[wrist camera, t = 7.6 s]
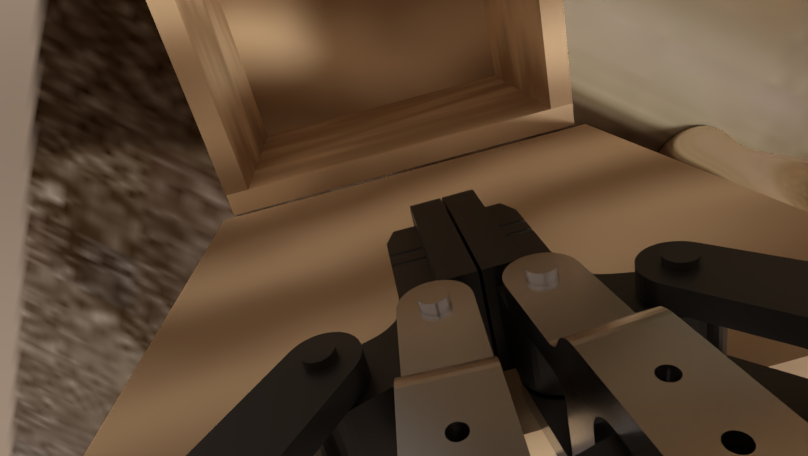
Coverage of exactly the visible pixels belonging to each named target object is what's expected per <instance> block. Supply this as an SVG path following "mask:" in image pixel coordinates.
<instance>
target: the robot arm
mask: <svg viewBox="0 0 808 456" xmlns="http://www.w3.org/2000/svg"><path fill="white" fill-rule="evenodd" d="M410 211H411V215H412V219H413V223H414V226H413V227H409V228H406V229H402V230H398V231H394V232H393V233H392V235H391V237H390V239H389V241H388V242H387V248H388V253H389V257H390V262H391V266H392V271H393V275H394V280H395V284H396V288H397V293H398V297H399V302H398V304H397V307H396V317H397V318H396V320H395V322H394V323H393V324H392V325H391V326H390V327H389V328H388V329H387V330H385V331H384V332H383V333H381V334H380V335H378V336H376V337H374V338H373V339H371V340H369V341H367V342H365V343H363V344H361V343H360V341H359V340H358V339H357V338H356V337H355V336H353V335H351V334H349V333H345V332H329V333H323V334H319V335H317V336H314V337H311V338H309V339H307V340H305V341H303V342H302V343H300V344H298V345H297V346H296V347H294V348H293V349H292V350H291V351H290V352H289V353H288V354H287V355H286V356H285V357H284V358H283V359H282V360H281V361H280V362H279V363H278V364H277V365H276V366H275V367H274V368H273V369H272V370H271V371H270V372H269V373H268V374H267V375H266V376H265V377H264V378H263V379H262V380H261V381H260V382H259V383H258V384H257V385H256V386H255V387H254V388H253V389H252V390H251V391H250V392H249V393H248V394H247V395H246V396H245V397H244V398H243V399H242V400H241V401H240V402H239V403H238V404H237V405H236V406H235V407H234V408H233V409H232V410H231V411H230V412H229V413H228V414H227V415H226V416H225V417H224V418H223V419H222V420H221V421H220V422H219V423H218V424H217V425H216V426H215V427H214V428H213V429H212V430H211V431H210V432H209V433H208V434H207V435H206V436H205V437H204V438H203V439H202V440H201V441H200V442H199V443H198V444H197V445H196V446H195V447H194V448H193V449H192V450H191V451H190V452H189V453H188V454H187V455H186V456H314V455H315V456H530V453H529V450H528V447H527V443H526V440H525V437H524V434H523V431H522V428H521V425H520V422H519V419H518V416H517V413H516V410H515V407H514V404H513V401H512V398H511V395H510V392H509V389H508V386H507V383H506V380H505V377H504V374H503V371H507V370H511V369H514V368H516V370H517V372H518V374H519V376H520V381H521V387H522V392H523V397H524V400H525V402H526V404H527V406H528V407H529V409H530V411H531V412H532V414H533V416H534V417H535V419H536V421H537V422H538V424H539V426H540V428H541V429H542V431H543V433H544V434H545V436H546V438H547V439H548V441H549V443H550V444H551V446H552V448H553V450H554V451H555V453H556V455H557V456H808V378H804V377H801V376H798V375H794V374H791V373H787V372H784V371H781V370H777V369H774V368H770V367H767V366H764V365H760V364H757V363H753V362H750V361H747V360H743V359H740V358H736V357H733V356H730V355H727V332H728V328H729V329H733V330H737V331H740V332H744V333H748V334H752V335H756V336H759V337H763V338H767V339H771V340H775V341H779V342H782V343H786V344H790V345H794V346H798V347H801V348H805V349H808V261H804V260H798V259H792V258H786V257H781V256H775V255H769V254H763V253H757V252H751V251H745V250H739V249H733V248H727V247H722V246H716V245H710V244H704V243H698V242H691V241H670V242H663V243H658V244H655V245H652V246H649V247H647V248H645V249H644V250H642V251H641V252H640V253H639V254H638V255H637V256H636V258H635V261H634V263H635V272H627V273H614V274H592V273H591V272H590V271H589V270H588V269H587V268H585V267H584V266H583V265H582V264H581V263H580V262H579V261H578V260H576V259H575V258H573V257H571V256H568V255H565V254H561V253H553V252H551V251H550V250H549V249H548V247H547V246H546V245H545V244H544V243H543V241H542V240H541V239H540V238H539V236H538V235H537V234H536V233H535V232H534V230H532V229H531V227H530V226H529V224H528V223H527V222H526V221H525V220H524V218H523V217H522V216H521V215H520V214H519V212H518V211H517V210H516V209H514V208H511V207H509V206H506V205H504V204H501V203H498V204H495V205H491V206H487V207H485V206H484V205H483V203H482V202H481V200H480V199H479V198H478V196H477V195H476V193H475V192H474V191H473V190H468V191H464V192H460V193H457V194H453V195H449V196H445V197H442V201H441V199H440V198H438V199H435V200H431V201H427V202H423V203H420V204H416V205H412V206H410Z"/></svg>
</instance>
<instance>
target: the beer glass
mask: <svg viewBox="0 0 808 456" xmlns="http://www.w3.org/2000/svg"><path fill="white" fill-rule="evenodd" d="M659 153H660V154H662V155H665V156H667V157H670V158H672V159H675V160H677V161H680V162H683V163H685V164H688V165H690V166H693V167H695V168H698V169H700V170H703V171H705V172H708V173H710V174H713V175H715V176H718V177H720V178H723V179H725V180H728V181H731V182H733V183H736V184H738V185H741V186H743V187H746V188H748V189H751V190H753V191H756V192H758V193H761V194H763V195H766V196H768V197H771V198H773V199H776V200H778V201H781V202H784V203H786V204H789V205H791V206H794V207H796V208H799V209H801V210H804V211H806V212H808V159H804V158H798V157H792V156H786V155H779V154H773V153H767V152H762V151H756V150H753V149H750V148H747V147H745V146H743V145H742V144H740V143H739V142H737V141H736V140H735V139H733V138H732V137H731V136H729V135H728V134H727V133H725V132H724V131H722V130H720V129H718V128H715V127H711V126H696V127H692V128H688V129H686V130H684V131H682V132H680V133H678V134H677V135H675V136H674V137H672V138H671V139H670V140H669V141H668V142H667V143H666V144H665V145H664V146H663V147H662V149H661V150H660V151H659Z"/></svg>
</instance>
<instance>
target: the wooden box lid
mask: <svg viewBox="0 0 808 456" xmlns="http://www.w3.org/2000/svg"><path fill="white" fill-rule="evenodd" d="M468 190H473V191H474V192H475V193H476V195H477V196H478V198H479V199H480V200H481V202H482V203H483V205H484V206H485V207H487V206H491V205H495V204H498V203H501V204H504V205H506V206H509V207H511V208H514V209H516V210H517V211H518V212H519V214H520V215H521V216H522V217H523V218H524V220H525V221H526V222H527V223H528V224H529V226H530V227H531V229H532V230H534V232H535V233H536V234H537V235H538V236H539V238H540V239H541V240H542V241H543V243H544V244H545V245H546V246H547V247H548V249H549V250H550V251H551V252H553V253H561V254H565V255H568V256H571V257H573V258H575V259H576V260H578V261H579V262H580V263H581V264H582V265H583V266H584V267H585V268H587V269H588V270H589V271H590V272H591V273H592V274H614V273H627V272H635V263H634V261H635V258H636V256H637V255H638V254H639V253H640V252H641V251H642V250H644V249H645V248H647V247H649V246H652V245H655V244H658V243H663V242H670V241H691V242H698V243H704V244H710V245H716V246H722V247H727V248H733V249H739V250H745V251H751V252H757V253H763V254H769V255H775V256H781V257H786V258H792V259H798V260H804V261H808V212H806V211H804V210H801V209H799V208H796V207H794V206H791V205H789V204H786V203H784V202H781V201H778V200H776V199H773V198H771V197H768V196H766V195H763V194H761V193H758V192H756V191H753V190H751V189H748V188H746V187H743V186H741V185H738V184H736V183H733V182H731V181H728V180H725V179H723V178H720V177H718V176H715V175H713V174H710V173H708V172H705V171H703V170H700V169H698V168H695V167H693V166H690V165H688V164H685V163H683V162H680V161H677V160H675V159H672V158H670V157H667V156H665V155H662V154H660V153H657V152H655V151H652V150H650V149H647V148H645V147H642V146H640V145H637V144H635V143H632V142H630V141H627V140H624V139H622V138H619V137H617V136H614V135H612V134H609V133H607V132H604V131H602V130H599V129H597V128H594V127H592V126H589V125H587V124H583V125H579V126H576V127H572V128H568V129H564V130H561V131H557V132H553V133H549V134H546V135H542V136H538V137H534V138H531V139H527V140H523V141H519V142H516V143H512V144H508V145H504V146H501V147H497V148H493V149H489V150H486V151H482V152H478V153H474V154H471V155H467V156H463V157H459V158H456V159H452V160H448V161H444V162H441V163H437V164H433V165H429V166H426V167H422V168H418V169H414V170H411V171H407V172H403V173H399V174H396V175H392V176H388V177H384V178H381V179H377V180H373V181H369V182H366V183H362V184H358V185H354V186H351V187H347V188H343V189H339V190H336V191H332V192H328V193H324V194H321V195H317V196H313V197H309V198H306V199H302V200H298V201H294V202H291V203H287V204H283V205H279V206H276V207H272V208H268V209H264V210H261V211H257V212H253V213H249V214H246V215H242V216H238V217H234V218H231V219H227V220H224V222H223V223H222V225H221V227H220V228H219V230H218V232H217V233H216V235H215V237H214V238H213V240H212V242H211V243H210V245H209V247H208V248H207V250H206V252H205V254H204V255H203V257H202V259H201V260H200V262H199V264H198V265H197V267H196V269H195V270H194V272H193V274H192V275H191V277H190V279H189V280H188V282H187V284H186V285H185V287H184V289H183V290H182V292H181V294H180V295H179V297H178V299H177V300H176V302H175V304H174V305H173V307H172V309H171V310H170V312H169V314H168V315H167V317H166V319H165V320H164V322H163V324H162V325H161V327H160V329H159V330H158V332H157V334H156V335H155V337H154V339H153V340H152V342H151V344H150V345H149V347H148V349H147V351H146V352H145V354H144V356H143V357H142V359H141V361H140V362H139V364H138V366H137V367H136V369H135V371H134V372H133V374H132V376H131V377H130V379H129V381H128V382H127V384H126V386H125V387H124V389H123V391H122V392H121V394H120V396H119V397H118V399H117V401H116V402H115V404H114V406H113V407H112V409H111V411H110V412H109V414H108V416H107V417H106V419H105V421H104V422H103V424H102V426H101V427H100V429H99V431H98V432H97V434H96V436H95V437H94V439H93V441H92V442H91V444H90V446H89V448H88V449H87V451H86V453H85V454H84V456H186V455H187V454H188V453H189V452H190V451H191V450H192V449H193V448H194V447H195V446H196V445H197V444H198V443H199V442H200V441H201V440H202V439H203V438H204V437H205V436H206V435H207V434H208V433H209V432H210V431H211V430H212V429H213V428H214V427H215V426H216V425H217V424H218V423H219V422H220V421H221V420H222V419H223V418H224V417H225V416H226V415H227V414H228V413H229V412H230V411H231V410H232V409H233V408H234V407H235V406H236V405H237V404H238V403H239V402H240V401H241V400H242V399H243V398H244V397H245V396H246V395H247V394H248V393H249V392H250V391H251V390H252V389H253V388H254V387H255V386H256V385H257V384H258V383H259V382H260V381H261V380H262V379H263V378H264V377H265V376H266V375H267V374H268V373H269V372H270V371H271V370H272V369H273V368H274V367H275V366H276V365H277V364H278V363H279V362H280V361H281V360H282V359H283V358H284V357H285V356H286V355H287V354H288V353H289V352H290V351H291V350H292V349H293V348H294V347H296V346H297V345H298V344H300V343H302V342H303V341H305V340H307V339H309V338H311V337H314V336H317V335H319V334H323V333H329V332H345V333H349V334H351V335H353V336H355V337H356V338H357V339H358V340H359V341H360V343H361V344H363V343H365V342H367V341H369V340H371V339H373V338H374V337H376V336H378V335H380V334H381V333H383V332H384V331H385V330H387V329H388V328H389V327H390V326H391V325H392V324H393V323H394V322H395V320H396V318H397V317H396V307H397V304H398V302H399V297H398V293H397V288H396V284H395V280H394V275H393V271H392V266H391V262H390V257H389V253H388V248H387V242H388V241H389V239H390V237H391V235H392V233H393V232H394V231H398V230H402V229H406V228H409V227H413V226H414V223H413V219H412V215H411V211H410V206H412V205H416V204H420V203H423V202H427V201H431V200H435V199H438V198H440V199H441V201H442V197H445V196H449V195H453V194H457V193H460V192H464V191H468ZM727 355H730V356H733V357H736V358H740V359H743V360H747V361H750V362H753V363H757V364H760V365H764V366H767V367H770V368H774V369H777V370H781V371H784V372H787V373H791V374H794V375H798V376H801V377H804V378H808V349H805V348H801V347H798V346H794V345H790V344H786V343H782V342H779V341H775V340H771V339H767V338H763V337H759V336H756V335H752V334H748V333H744V332H740V331H737V330H733V329H729V328H728V332H727ZM503 374H504V377H505V380H506V383H507V386H508V389H509V392H510V395H511V398H512V401H513V404H514V407H515V410H516V413H517V416H518V419H519V422H520V425H521V428H522V431H523V434H524V437H525V440H526V443H527V447H528V450H529V453H530V456H553V455H556V453H555V451H554V450H553V448H552V446H551V444H550V443H549V441H548V439H547V438H546V436H545V434H544V433H543V431H542V429H541V428H540V426H539V424H538V422H537V421H536V419H535V417H534V416H533V414H532V412H531V411H530V409H529V407H528V406H527V404H526V402H525V400H524V397H523V392H522V387H521V381H520V376H519V374H518V372H517V370H516V368H514V369H511V370H507V371H503ZM314 456H315V455H314Z"/></svg>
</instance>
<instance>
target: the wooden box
mask: <svg viewBox="0 0 808 456" xmlns="http://www.w3.org/2000/svg"><path fill="white" fill-rule="evenodd" d="M146 2H147V5H148V7H149V10H150V12H151V14H152V17H153V19H154V22H155V24H156V27H157V29H158V31H159V34H160V36H161V39H162V41H163V44H164V46H165V48H166V51H167V53H168V56H169V58H170V60H171V63H172V65H173V68H174V70H175V73H176V75H177V77H178V80H179V82H180V85H181V87H182V90H183V92H184V94H185V97H186V99H187V102H188V104H189V107H190V109H191V111H192V114H193V116H194V119H195V121H196V123H197V126H198V128H199V131H200V133H201V136H202V138H203V140H204V143H205V145H206V148H207V150H208V153H209V155H210V157H211V160H212V162H213V165H214V167H215V170H216V172H217V174H218V177H219V179H220V182H221V184H222V186H223V189H224V191H225V194H226V196H227V199H228V201H229V203H230V206H231V208H232V211H233V213H234V215H237V214H241V213H245V212H249V211H252V210H256V209H260V208H264V207H267V206H271V205H275V204H279V203H282V202H286V201H290V200H294V199H297V198H301V197H305V196H309V195H312V194H316V193H320V192H324V191H327V190H331V189H335V188H339V187H342V186H346V185H350V184H354V183H357V182H361V181H365V180H369V179H372V178H376V177H380V176H384V175H387V174H391V173H395V172H399V171H402V170H406V169H410V168H414V167H417V166H421V165H425V164H429V163H432V162H436V161H440V160H444V159H447V158H451V157H455V156H459V155H462V154H466V153H470V152H474V151H477V150H481V149H485V148H489V147H492V146H496V145H500V144H504V143H507V142H511V141H515V140H519V139H522V138H526V137H530V136H534V135H537V134H541V133H545V132H549V131H552V130H556V129H560V128H564V127H567V126H571V125H574V115H573V104H572V93H571V82H570V71H569V60H568V49H567V38H566V27H565V16H564V6H563V0H146Z"/></svg>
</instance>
